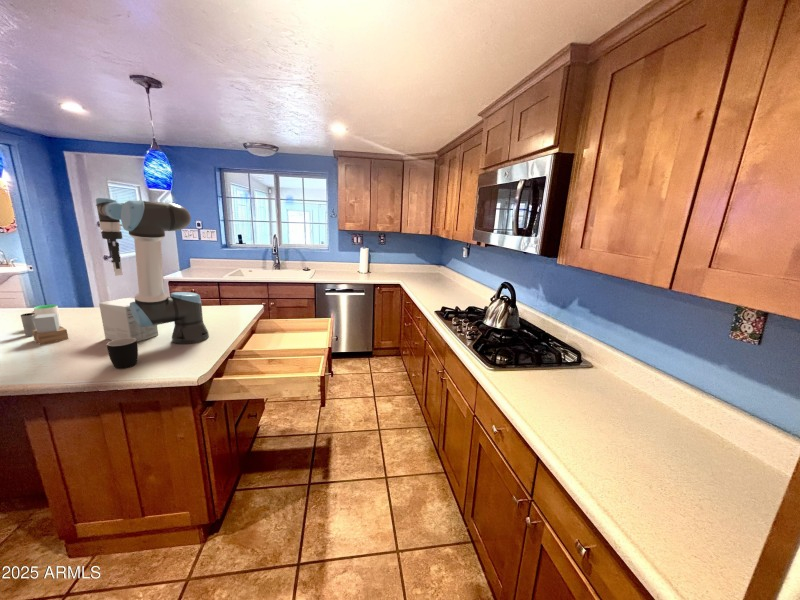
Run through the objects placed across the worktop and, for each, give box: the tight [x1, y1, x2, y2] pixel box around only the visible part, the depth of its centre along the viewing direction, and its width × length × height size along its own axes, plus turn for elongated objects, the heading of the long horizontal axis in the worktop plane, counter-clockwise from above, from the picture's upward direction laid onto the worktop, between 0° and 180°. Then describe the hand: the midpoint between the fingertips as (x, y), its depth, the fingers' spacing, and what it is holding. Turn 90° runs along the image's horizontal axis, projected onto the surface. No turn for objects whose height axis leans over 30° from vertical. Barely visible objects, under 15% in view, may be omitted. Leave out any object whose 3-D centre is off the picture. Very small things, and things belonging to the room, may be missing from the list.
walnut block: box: [32, 325, 69, 346], centre depth 146 cm, size 9×9×5 cm
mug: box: [106, 338, 139, 370], centre depth 125 cm, size 12×9×10 cm
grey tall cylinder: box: [20, 312, 37, 337], centre depth 150 cm, size 4×4×10 cm
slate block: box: [34, 313, 61, 333], centre depth 144 cm, size 6×6×7 cm
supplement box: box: [98, 297, 159, 343], centre depth 152 cm, size 17×13×18 cm
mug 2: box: [28, 304, 62, 326], centre depth 160 cm, size 12×8×10 cm, turn 160°
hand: (118, 273), depth 161 cm, fingers open, 13 cm apart
